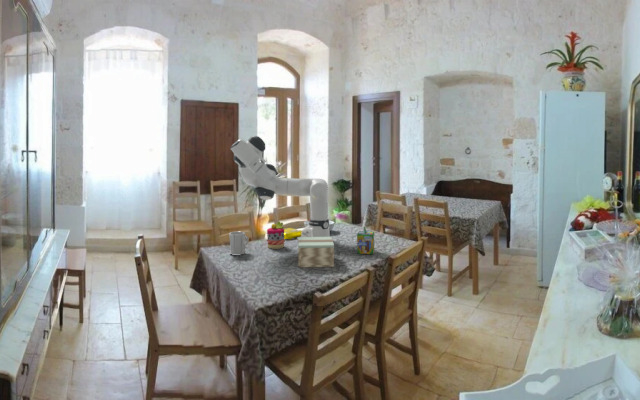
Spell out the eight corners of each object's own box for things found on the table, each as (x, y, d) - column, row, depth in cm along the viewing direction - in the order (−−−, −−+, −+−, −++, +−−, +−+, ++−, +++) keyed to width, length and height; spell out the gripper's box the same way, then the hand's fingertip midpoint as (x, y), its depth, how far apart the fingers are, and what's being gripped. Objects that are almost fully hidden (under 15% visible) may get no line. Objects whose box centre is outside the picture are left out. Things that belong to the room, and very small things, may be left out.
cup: (234, 251, 270) (233, 230, 268) (249, 251, 268) (248, 231, 266) (227, 255, 260) (226, 234, 258) (242, 256, 258) (242, 235, 256)
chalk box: (373, 254, 259) (373, 228, 257) (356, 254, 261) (357, 228, 259) (374, 250, 268) (374, 225, 266) (358, 250, 270) (358, 225, 268)
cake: (278, 249, 272) (277, 224, 270) (263, 247, 277) (263, 223, 275) (288, 246, 281) (287, 221, 279) (273, 244, 286) (273, 220, 284)
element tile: (290, 233, 318) (290, 227, 318) (304, 237, 307) (304, 230, 306) (272, 237, 309) (272, 229, 308) (285, 240, 297) (285, 233, 297)
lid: (298, 247, 234) (298, 245, 234) (298, 239, 254) (298, 236, 254) (334, 247, 235) (334, 244, 235) (331, 238, 255) (331, 236, 255)
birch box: (298, 267, 235) (298, 248, 234) (298, 257, 255) (298, 239, 254) (334, 266, 236) (334, 247, 235) (331, 256, 256) (331, 239, 255)
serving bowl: (337, 234, 314) (337, 224, 313) (306, 235, 311) (306, 225, 310) (331, 228, 335) (331, 219, 334) (302, 229, 331) (302, 220, 330)
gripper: (255, 168, 248) (274, 186, 250) (251, 171, 228) (271, 190, 230) (263, 159, 248) (282, 177, 249) (260, 161, 227) (280, 181, 229)
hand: (277, 184), depth 239 cm, fingers closed
